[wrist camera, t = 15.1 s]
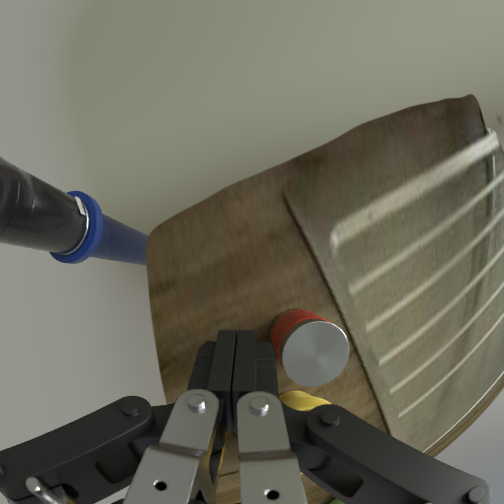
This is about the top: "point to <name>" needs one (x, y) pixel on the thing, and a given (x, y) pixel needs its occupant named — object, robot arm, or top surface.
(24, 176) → the robot arm
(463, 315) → the top surface
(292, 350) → the tin can
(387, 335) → the top surface
